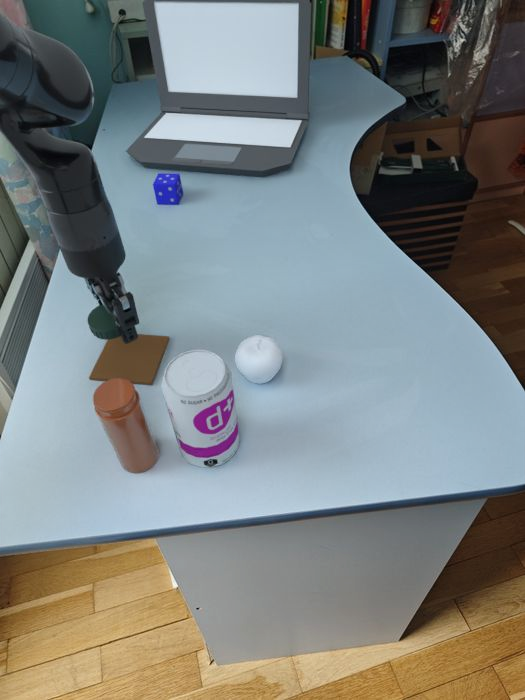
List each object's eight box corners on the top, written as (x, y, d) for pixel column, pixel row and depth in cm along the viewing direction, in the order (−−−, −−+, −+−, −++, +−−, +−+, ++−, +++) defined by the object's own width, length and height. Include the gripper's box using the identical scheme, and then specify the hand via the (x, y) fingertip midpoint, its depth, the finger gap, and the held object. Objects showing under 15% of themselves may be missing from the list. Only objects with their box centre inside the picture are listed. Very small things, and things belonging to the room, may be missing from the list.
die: (183, 193, 113) (179, 173, 109) (178, 204, 109) (174, 184, 106) (162, 193, 113) (158, 173, 110) (157, 204, 110) (152, 184, 106)
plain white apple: (261, 399, 71) (258, 363, 65) (227, 375, 74) (222, 338, 69) (292, 372, 74) (293, 335, 68) (259, 350, 78) (256, 313, 72)
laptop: (119, 169, 122) (78, 10, 98) (164, 119, 143) (139, -22, 119) (287, 182, 115) (287, 13, 90) (308, 127, 135) (313, -22, 111)
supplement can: (251, 448, 65) (244, 377, 54) (198, 481, 62) (179, 412, 51) (220, 409, 70) (207, 336, 59) (169, 438, 67) (146, 366, 56)
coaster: (152, 385, 74) (151, 382, 73) (89, 380, 75) (88, 377, 74) (169, 338, 80) (169, 336, 80) (112, 334, 82) (111, 331, 81)
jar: (157, 471, 63) (133, 410, 54) (118, 475, 63) (86, 413, 53) (160, 438, 67) (138, 374, 57) (122, 441, 67) (94, 377, 57)
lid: (137, 311, 73) (134, 301, 71) (125, 340, 69) (121, 331, 67) (99, 309, 74) (95, 300, 72) (85, 339, 70) (80, 330, 68)
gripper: (140, 245, 58) (166, 343, 70) (91, 198, 66) (122, 293, 78) (81, 270, 55) (119, 368, 67) (37, 218, 63) (78, 313, 75)
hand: (121, 327), depth 73 cm, fingers closed on lid, 6 cm apart
